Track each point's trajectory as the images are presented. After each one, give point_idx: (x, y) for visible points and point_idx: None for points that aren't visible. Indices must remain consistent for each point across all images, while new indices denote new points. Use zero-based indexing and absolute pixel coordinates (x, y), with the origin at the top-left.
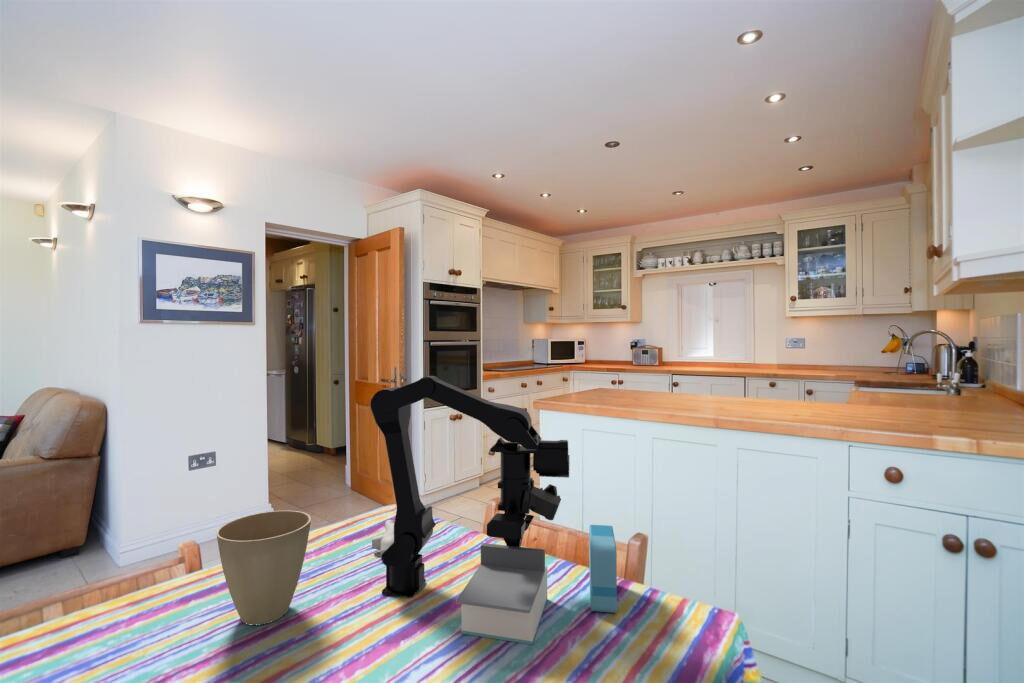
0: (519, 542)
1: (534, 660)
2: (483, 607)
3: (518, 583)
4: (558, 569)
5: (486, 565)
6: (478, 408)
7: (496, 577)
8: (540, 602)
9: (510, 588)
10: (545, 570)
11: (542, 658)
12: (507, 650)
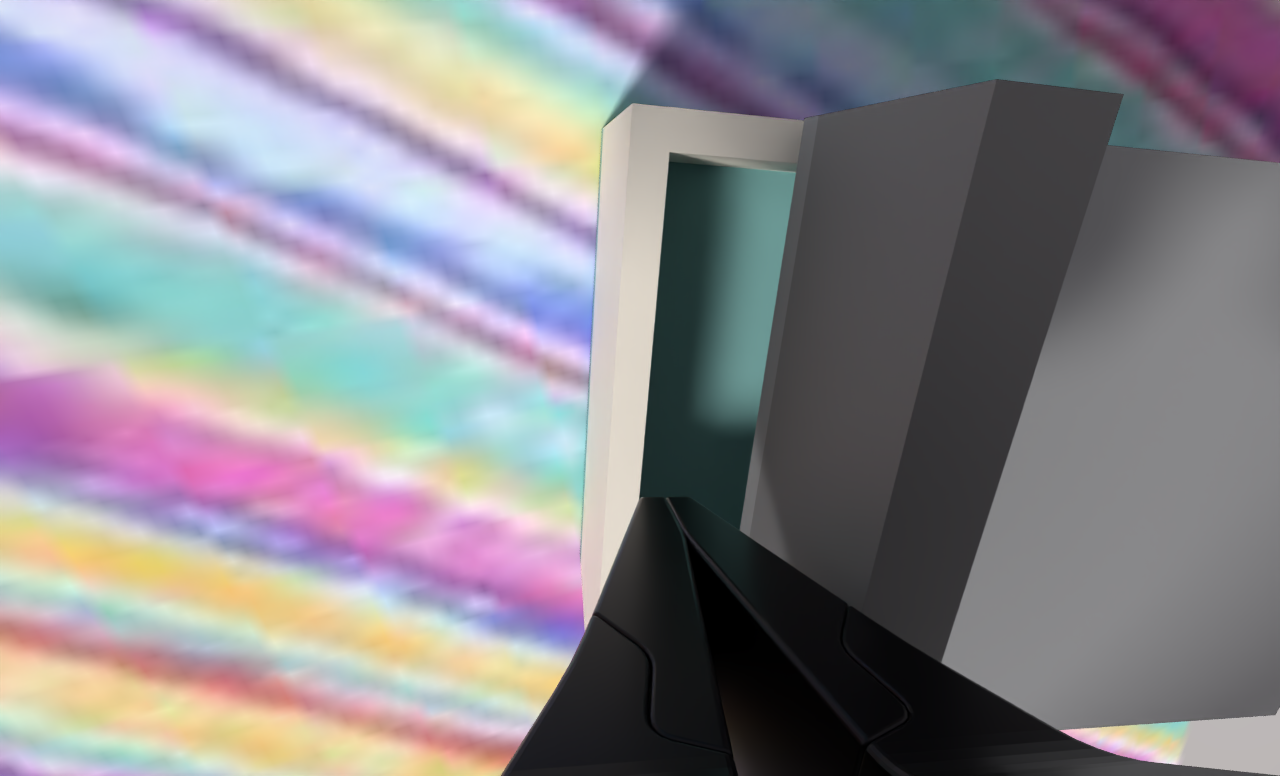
0: (869, 621)
1: (1235, 147)
2: None
3: (1134, 371)
4: (7, 58)
5: None
6: None
7: (1000, 576)
8: None
9: (1202, 423)
10: (731, 120)
11: (1229, 101)
12: None
